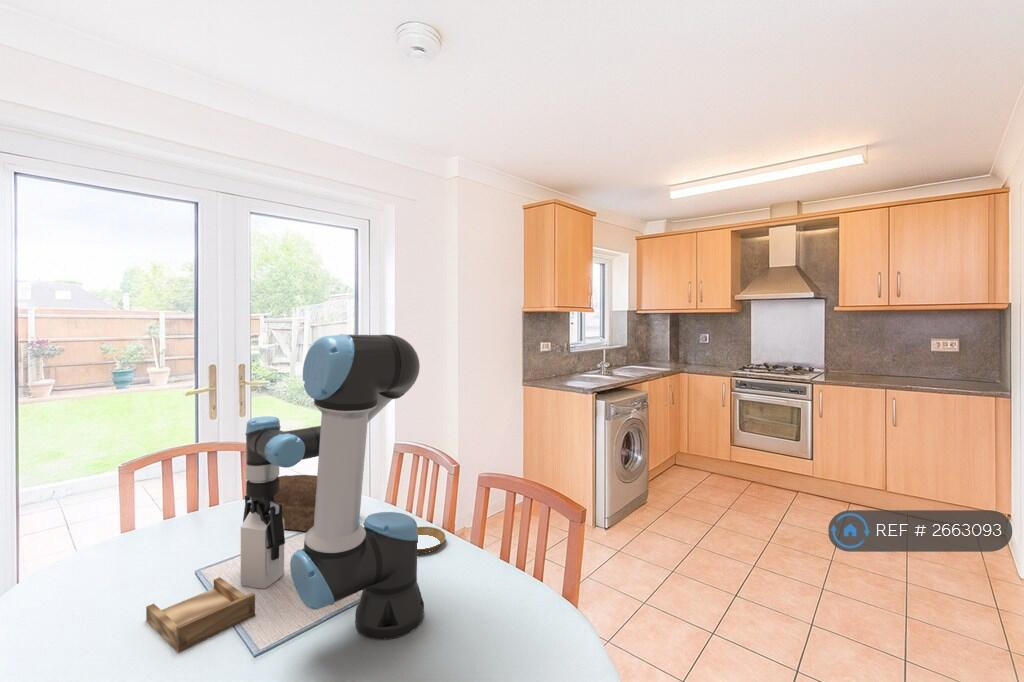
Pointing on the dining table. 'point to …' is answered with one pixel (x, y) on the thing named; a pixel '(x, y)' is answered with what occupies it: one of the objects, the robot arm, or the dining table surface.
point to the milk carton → (257, 554)
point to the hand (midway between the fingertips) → (262, 564)
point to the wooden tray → (201, 615)
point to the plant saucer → (431, 532)
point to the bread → (297, 501)
